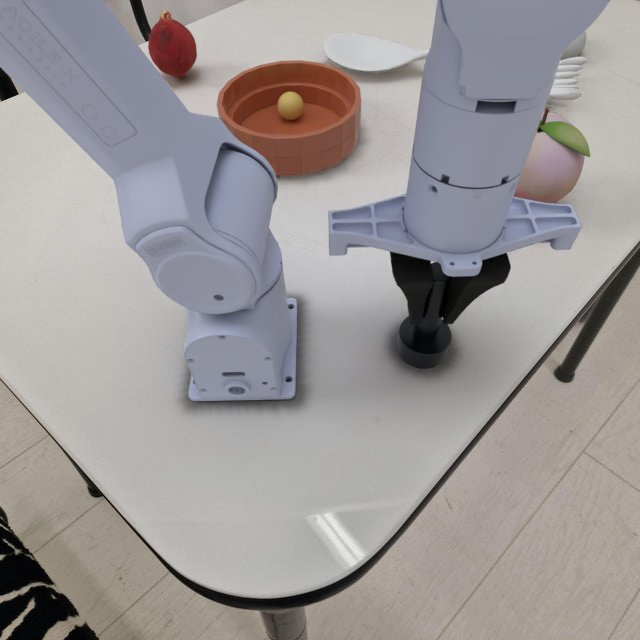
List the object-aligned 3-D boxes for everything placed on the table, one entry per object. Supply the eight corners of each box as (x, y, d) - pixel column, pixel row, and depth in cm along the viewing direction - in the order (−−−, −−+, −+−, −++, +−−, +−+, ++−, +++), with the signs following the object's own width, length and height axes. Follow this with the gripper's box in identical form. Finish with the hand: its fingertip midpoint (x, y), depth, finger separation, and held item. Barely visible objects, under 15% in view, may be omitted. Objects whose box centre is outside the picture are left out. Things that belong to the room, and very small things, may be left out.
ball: (304, 124, 59) (303, 100, 56) (278, 125, 59) (275, 101, 56) (304, 110, 61) (303, 85, 58) (279, 111, 61) (276, 86, 58)
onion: (193, 91, 65) (177, 24, 59) (150, 87, 66) (130, 21, 59) (208, 68, 68) (194, 2, 62) (167, 65, 69) (150, 0, 63)
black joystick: (451, 368, 40) (476, 294, 32) (399, 369, 40) (413, 295, 33) (443, 326, 42) (465, 248, 35) (394, 327, 42) (406, 250, 35)
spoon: (571, 120, 59) (583, 91, 56) (313, 74, 67) (312, 47, 64) (578, 81, 64) (589, 53, 61) (337, 43, 72) (337, 16, 69)
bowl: (363, 178, 54) (365, 135, 50) (218, 182, 54) (209, 140, 50) (355, 99, 63) (356, 58, 59) (231, 103, 63) (224, 62, 59)
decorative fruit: (575, 193, 51) (619, 99, 43) (548, 243, 47) (591, 149, 39) (486, 163, 55) (512, 71, 47) (454, 207, 51) (476, 114, 43)
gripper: (329, 209, 24) (331, 362, 35) (639, 201, 24) (544, 357, 35) (326, 124, 28) (329, 284, 39) (590, 116, 28) (519, 279, 39)
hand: (429, 313), depth 37 cm, fingers closed on black joystick, 2 cm apart
